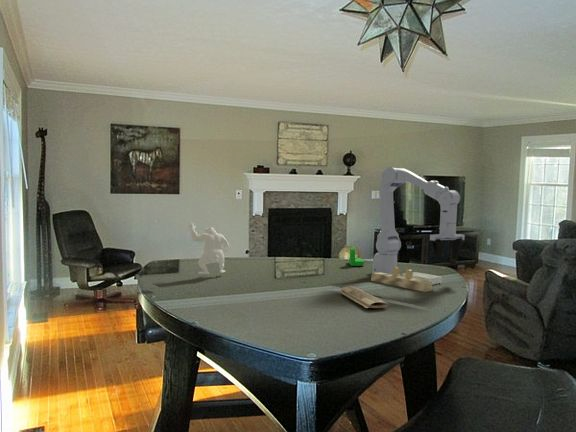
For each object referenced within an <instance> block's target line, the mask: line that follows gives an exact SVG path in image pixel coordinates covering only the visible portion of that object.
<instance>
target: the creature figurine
mask: <svg viewBox="0 0 576 432" xmlns="http://www.w3.org/2000/svg"><path fill="white" fill-rule="evenodd" d="M188 226H189V229H190V236H191V238H192V241H194V242H195V241H196V242H199V243H200V242H205V243H204V246H203V253H202V255H201V256H200V258H199V259H198V262H197V264H198V266H199V268H200V269H202V271H198V272H197V274H198V275H210V272H209V270H208V267H207V265H210V264H215V263H216V264H218V267H219V273H220V274H222V273H223V274H224V273H226V270H225V269H224V268H225V254H224V253H228V251H229V249H230V243H229V242H228V240H227V239H226V238H225V236H224V234H222V233H220V232H219V233H218V232H217V231H216V229H215V227H212V226H210V227H206V228H205V231H204V233H200V234H198V232H197V231H196V230H195V229H196V225H195V223H194V222H192V221H191V222H189V223H188ZM222 246H223V247H222Z"/></svg>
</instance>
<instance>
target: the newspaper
mask: <svg viewBox="0 0 576 432" xmlns="http://www.w3.org/2000/svg"><path fill="white" fill-rule="evenodd" d="M337 292H338V293H340V294H341V295H344V296H345V297H347V298H348V299H350V300H351V301H354V302H355V303H357V304H358V305H361V306H363V308H365V309H368V308H372V309H383V308H387V307H388V306H389V303H388V302H386V301H384V300H382V299H380V298H379V297H376V296H374V295H372V294H371V293H368V292H367V291H364V290H363V289H360V288H358V287H356V286H352V285H349V286H347V285H346V286H343V287H341V288H340V290H338V291H337Z"/></svg>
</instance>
